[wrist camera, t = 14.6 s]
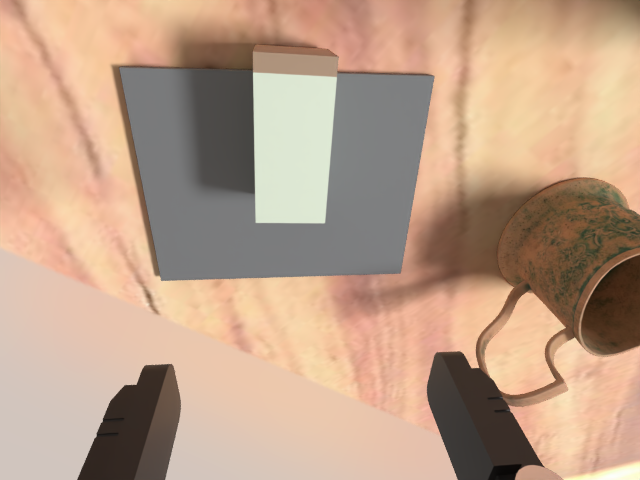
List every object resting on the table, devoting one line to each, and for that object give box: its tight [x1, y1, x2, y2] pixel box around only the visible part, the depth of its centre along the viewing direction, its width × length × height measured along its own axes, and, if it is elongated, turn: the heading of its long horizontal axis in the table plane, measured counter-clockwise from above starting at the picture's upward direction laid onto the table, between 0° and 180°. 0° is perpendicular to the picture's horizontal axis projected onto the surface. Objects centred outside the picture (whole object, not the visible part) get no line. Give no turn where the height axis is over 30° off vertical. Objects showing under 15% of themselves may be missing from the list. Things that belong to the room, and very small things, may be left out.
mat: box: [119, 66, 434, 281], centre depth 30 cm, size 20×16×1 cm
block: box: [253, 44, 339, 223], centre depth 25 cm, size 4×4×10 cm
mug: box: [476, 178, 640, 407], centre depth 31 cm, size 12×18×12 cm, turn 123°
